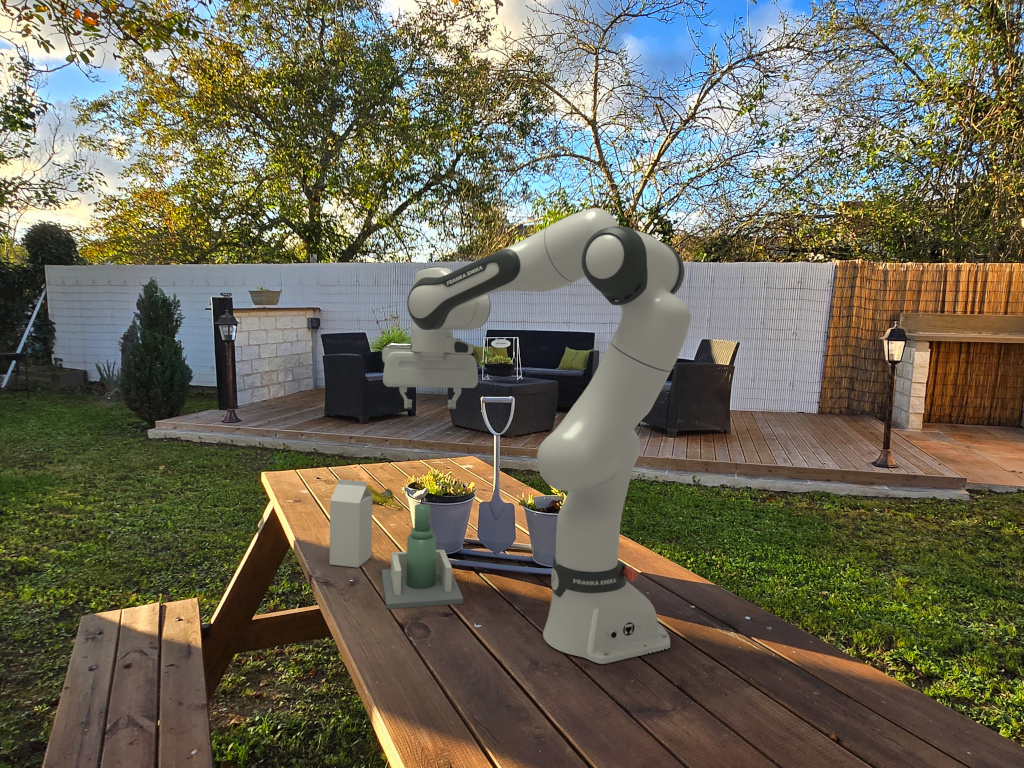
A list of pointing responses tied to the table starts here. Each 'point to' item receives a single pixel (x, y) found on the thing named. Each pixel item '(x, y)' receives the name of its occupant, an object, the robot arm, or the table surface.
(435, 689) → the table surface
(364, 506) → the milk carton
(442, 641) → the table surface
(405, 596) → the bottle holder
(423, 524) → the bottle
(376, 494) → the sprinkler
